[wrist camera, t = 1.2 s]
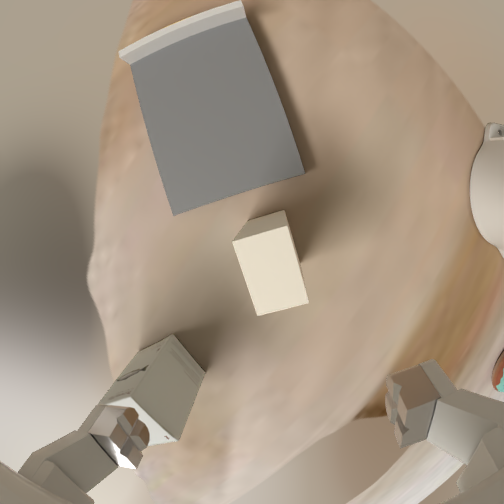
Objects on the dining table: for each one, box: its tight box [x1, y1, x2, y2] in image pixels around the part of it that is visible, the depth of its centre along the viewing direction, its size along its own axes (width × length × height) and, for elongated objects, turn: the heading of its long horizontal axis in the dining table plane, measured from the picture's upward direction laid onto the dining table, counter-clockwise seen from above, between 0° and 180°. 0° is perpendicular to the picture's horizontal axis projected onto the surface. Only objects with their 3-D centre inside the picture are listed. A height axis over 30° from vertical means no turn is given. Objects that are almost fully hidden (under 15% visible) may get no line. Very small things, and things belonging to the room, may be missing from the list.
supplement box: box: [98, 334, 205, 446], centre depth 29 cm, size 7×7×13 cm
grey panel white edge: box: [119, 0, 305, 216], centre depth 25 cm, size 14×20×4 cm
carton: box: [232, 210, 309, 316], centre depth 25 cm, size 6×4×10 cm
